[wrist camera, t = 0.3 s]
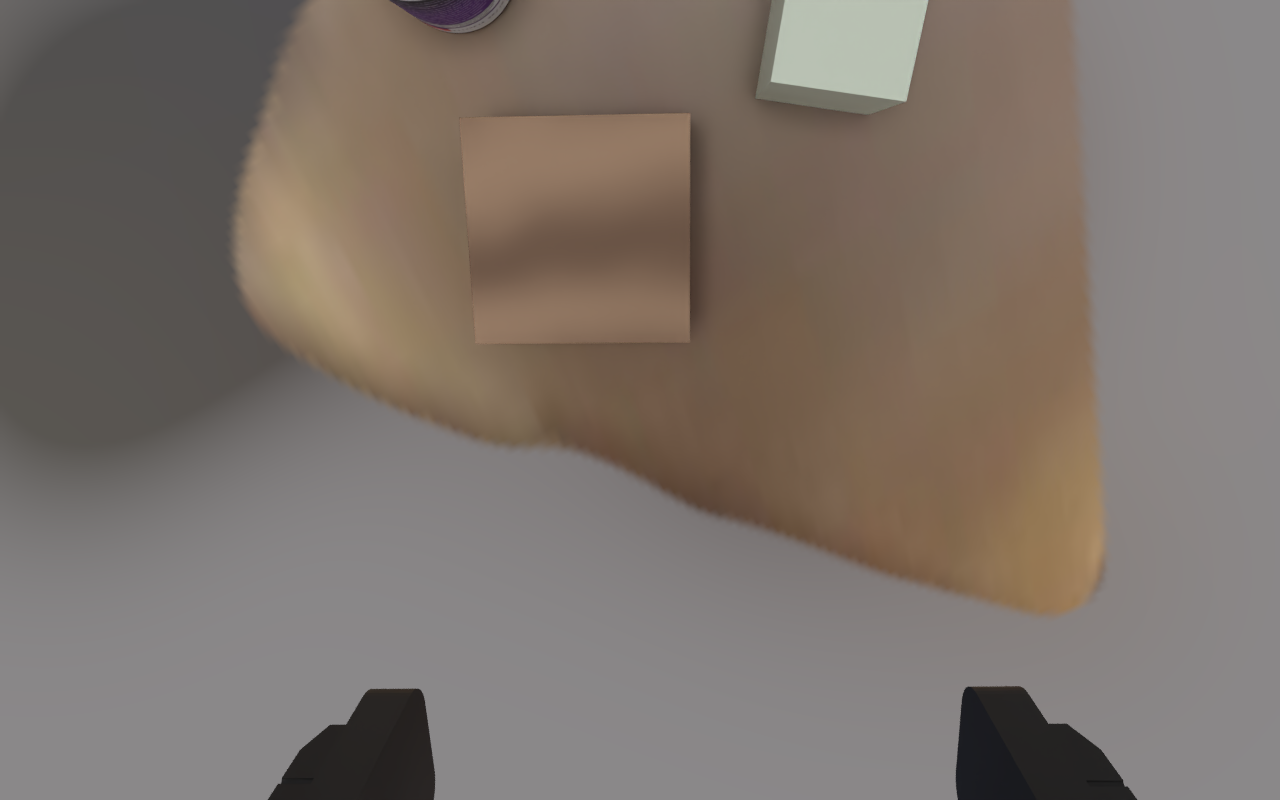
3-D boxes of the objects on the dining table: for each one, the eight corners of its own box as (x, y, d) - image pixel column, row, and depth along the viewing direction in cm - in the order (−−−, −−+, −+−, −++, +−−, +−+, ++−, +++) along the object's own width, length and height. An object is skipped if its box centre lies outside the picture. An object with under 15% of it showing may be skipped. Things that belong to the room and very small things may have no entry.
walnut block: (488, 126, 36) (459, 117, 31) (688, 122, 35) (690, 112, 30) (500, 323, 38) (475, 343, 33) (688, 321, 38) (689, 342, 33)
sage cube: (776, -27, 33) (797, -71, 28) (893, -10, 33) (939, -50, 28) (755, 98, 35) (770, 81, 29) (868, 115, 35) (906, 101, 29)
